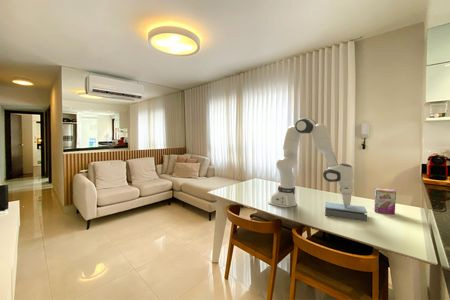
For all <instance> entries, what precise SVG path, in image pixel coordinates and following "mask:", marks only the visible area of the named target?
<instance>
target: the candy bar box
mask: <svg viewBox="0 0 450 300" xmlns="http://www.w3.org/2000/svg"><path fill="white" fill-rule="evenodd" d="M396 196H397V192H396V190H395V189H387V188H377V187H376V188H375V189H374V208H373V209H374V213H382V214H389V215H395V213H396V198H397V197H396Z"/></svg>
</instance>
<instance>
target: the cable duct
mask: <svg viewBox="0 0 450 300" xmlns="http://www.w3.org/2000/svg"><path fill="white" fill-rule="evenodd" d="M324 209H325V212H324V216H326V217H333V218H340V219H346V220H353V221H359V222H366V223H367V222H368V213H359V212H352V211H344V210H336V209H328V208H324Z"/></svg>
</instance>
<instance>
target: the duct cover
mask: <svg viewBox="0 0 450 300" xmlns="http://www.w3.org/2000/svg"><path fill="white" fill-rule="evenodd" d="M326 208H328V209H336V210H344V211H352V212H359V213H365V214H368V211H367V210H366V207H365V206H362V205H353V204H350V205H348V206H347V208H344V204H343V203H334V202H328V201H327V202H326V201H325V207H324V209H326Z"/></svg>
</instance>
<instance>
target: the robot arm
mask: <svg viewBox="0 0 450 300" xmlns="http://www.w3.org/2000/svg"><path fill="white" fill-rule="evenodd" d="M302 134H310V135H311V137H312V140H313V143H314V147H315V149H316V150H317V151H319V152H320V153H322V155H323V156H324V157H325V161H326V163H327V166H328V167H327V168H326V169H325V170H324V171H323V173H322V176H323V179H324V180H325V181H327V182H329V183H334V182H335V183H336V182H337V183H338V191H339V192H340V194H341V198H342V204H344V208H347V206H348V205H351V202H352V195H353V191H354V178H355V177H354V168H353V166H352V165H351V164H348V163H338V162H337V159H336V156H335V152H334V148H333V144H332V139H331V138H332V137H331V136H330V132H329V131H328V128H327V126H326V125H325V124H323V123H316V121H315V120H314V119H311V118H299V120H296V122H295V125H290V126H289V127H287V130H286V132H285V137H284V142H283V148H282V150H283V157H280V158H279V159H278V160H277V162H276V164H275V165H276V169H277V170H278V173H279V178H280V180H279V181H280V182H279V183H280V184H279V185H277V190H276V191H275V192H274V193H273V194H271V197H270V199H268V201H267V203H268V204H269V205H273V206H277V207H280V208H281V207H283V208H289V207H295V206H297V204H298V203H297V200H296V187H295V186H296V185H295V175H294V173H293V169H294V168H295V167H297V164H298V150H299V144H300V139H301V136H302Z"/></svg>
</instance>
